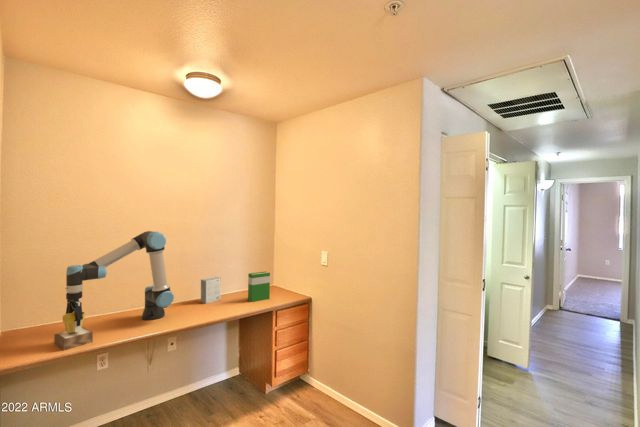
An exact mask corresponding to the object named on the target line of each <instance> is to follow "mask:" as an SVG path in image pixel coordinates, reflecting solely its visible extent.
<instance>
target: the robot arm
mask: <svg viewBox="0 0 640 427" xmlns="http://www.w3.org/2000/svg"><path fill="white" fill-rule="evenodd" d="M166 244H167V237H166V236H165V234H164V233H162V232H158V231H151V230H148V231H144V232H142V233H139V234H138V235H136V236H135V237H133V238H131V240H130V241H128V242H126V243H125V244H123V245H121V246H119V247H117V248H115V249H113V250H112V251H109V252H108V253H106V254H104V255H102V256H100V257H98V258H96V259H95V260H93V261H91V262H90V261H89V263H84V264H75V265H68V266H67V268H66V271H65V272H66V273H65V275H66V278H65V280H66V284H65V286H66V287H65V292H66V294H65V299H66V310H65V314H69V313H73V312H74V314H75V319H76V320H74V321H75V332H78V331H81V320H82V319H83V315H82V312H83V308H82V305H83V304H82V302H81V301H80V299H82V298H83V290H84V289H83V287H84V286H83V281H89V280H90V281H91V280H100V279H104V278H106V277H107V274H108V272H107V271H108V270H107V267H109V266H111V265H113V264H114V263H116V262H118V261H120V260H122V259H123V258H125V257H127V256H129V255H131V254H133V253H134V252H136V251H141V250H142V249H145V253H147V254H148V258H149V262H150V264H149V265H150V270H151V276H152V284H153V285H149V286H146V287H145V288H144V308H143V310H142V313H141V319H142V320H145V321H153V320H158V319H161V318H164V317H165V315H166V313H165V308H167V307H169V306H170V305H172V303H173V302H174V300H175V299H174V298H175V295H174V293H173V292H172V291H171V285H170V284H168V281H167V274H166V267H165V260H164V253H163V252H164V251H165V246H166ZM83 320H84V319H83Z"/></svg>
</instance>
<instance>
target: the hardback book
mask: <svg viewBox="0 0 640 427" xmlns="http://www.w3.org/2000/svg"><path fill="white" fill-rule="evenodd" d="M247 274H248V275H247V276H248V280H247V281H248V282H247V286H248V287H247V301H249V302H250V303H255V302H256V303H257V302H261V301H265V300H270V291H271V290H270V288H271V286H270V284H271V283H270V282H271V272H267V271H260V272H259V271H257V272H250V273H247Z"/></svg>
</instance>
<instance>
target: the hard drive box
mask: <svg viewBox="0 0 640 427" xmlns="http://www.w3.org/2000/svg"><path fill="white" fill-rule="evenodd" d="M221 285H222V284H221V277H218V276H212V277H208V278H203V279H200V302H201V303H202V304H204V305H205V304H210V303H213V302H217V301H220V300H221V298H222V296H221Z"/></svg>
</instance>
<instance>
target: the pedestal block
mask: <svg viewBox="0 0 640 427" xmlns="http://www.w3.org/2000/svg"><path fill="white" fill-rule="evenodd" d="M93 336H94V335H93V331H92V330H90V329H87V328H85V327H83V326H82V327H81V331H78V332H73V333H68V332H67V331H66V330H65V331H61V332H59V333H58V332H57V333H54V337H53V338H54V339H53V341H54V342H53V344H55V345H54V346H56V347H58V348H59V349H61V350H62V351H66V350H70V349H74V348H77V347H80V346H84V345H87V343H88V344H90V343H91V344H92V343H93V340H94V338H93Z"/></svg>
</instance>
